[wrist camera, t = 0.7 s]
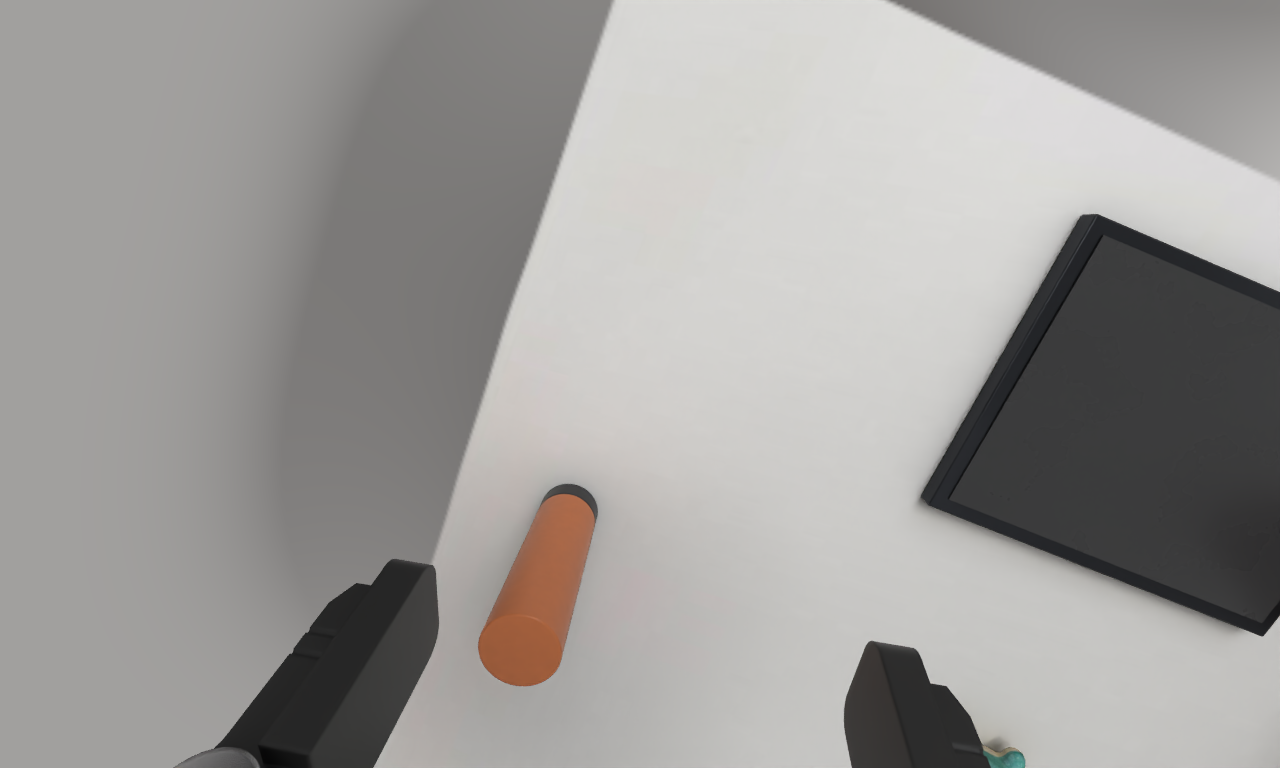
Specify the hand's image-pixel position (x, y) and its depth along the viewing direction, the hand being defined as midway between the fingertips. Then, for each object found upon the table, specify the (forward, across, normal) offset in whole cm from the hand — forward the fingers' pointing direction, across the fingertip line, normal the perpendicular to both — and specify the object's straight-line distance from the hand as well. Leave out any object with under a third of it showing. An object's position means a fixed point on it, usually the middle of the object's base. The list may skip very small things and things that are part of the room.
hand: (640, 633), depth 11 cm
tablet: (+20, -24, +4) cm, 32 cm away
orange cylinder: (+17, +5, +11) cm, 21 cm away
